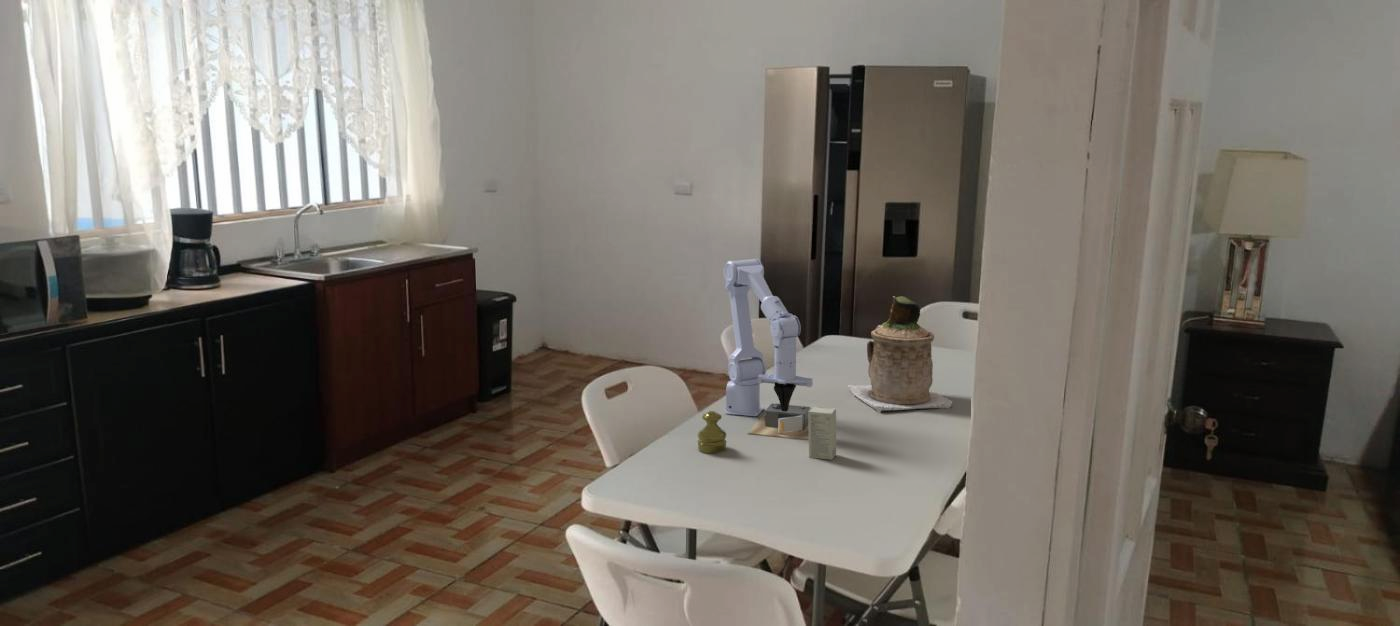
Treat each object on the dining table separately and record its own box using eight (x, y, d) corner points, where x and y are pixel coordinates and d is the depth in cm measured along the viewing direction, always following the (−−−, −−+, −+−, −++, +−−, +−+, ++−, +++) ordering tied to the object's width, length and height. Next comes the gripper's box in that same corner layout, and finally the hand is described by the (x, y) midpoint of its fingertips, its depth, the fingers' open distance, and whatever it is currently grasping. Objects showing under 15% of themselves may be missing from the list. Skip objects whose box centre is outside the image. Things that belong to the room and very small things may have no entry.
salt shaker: (706, 456, 245) (705, 418, 243) (692, 447, 251) (692, 410, 249) (731, 451, 248) (731, 413, 246) (717, 442, 254) (717, 406, 252)
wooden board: (747, 434, 261) (747, 433, 261) (762, 416, 276) (762, 415, 275) (813, 440, 255) (813, 439, 255) (825, 422, 270) (825, 421, 270)
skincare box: (836, 454, 244) (837, 408, 242) (831, 460, 240) (832, 413, 238) (812, 451, 247) (813, 405, 244) (807, 457, 243) (808, 410, 240)
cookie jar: (955, 408, 281) (960, 300, 275) (875, 414, 276) (878, 304, 270) (919, 385, 305) (923, 285, 299) (845, 391, 300) (847, 289, 294)
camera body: (764, 426, 266) (765, 408, 265) (771, 418, 273) (771, 401, 272) (804, 429, 263) (804, 411, 262) (809, 422, 269) (810, 404, 268)
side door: (780, 433, 259) (780, 419, 258) (778, 432, 260) (778, 417, 259) (805, 430, 261) (805, 416, 260) (802, 428, 263) (802, 414, 262)
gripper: (754, 363, 257) (755, 412, 260) (808, 366, 253) (808, 416, 255) (761, 356, 264) (761, 405, 266) (814, 360, 259) (813, 409, 262)
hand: (784, 410), depth 261 cm, fingers closed
